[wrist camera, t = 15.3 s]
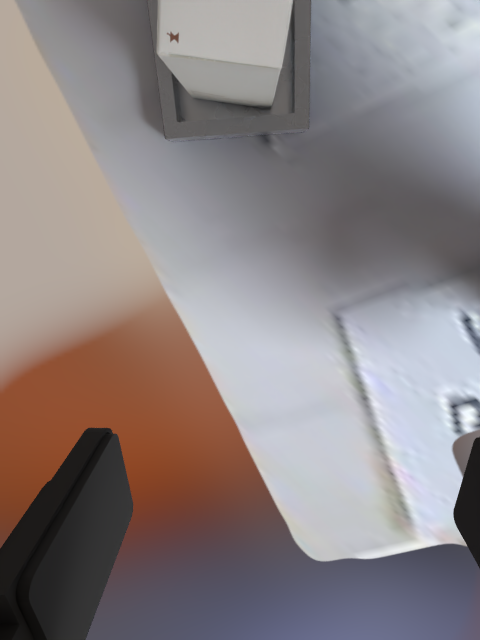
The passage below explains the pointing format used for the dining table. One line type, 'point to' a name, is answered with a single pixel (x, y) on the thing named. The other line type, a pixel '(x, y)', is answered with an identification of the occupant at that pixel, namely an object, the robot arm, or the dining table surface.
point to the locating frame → (233, 119)
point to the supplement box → (225, 47)
